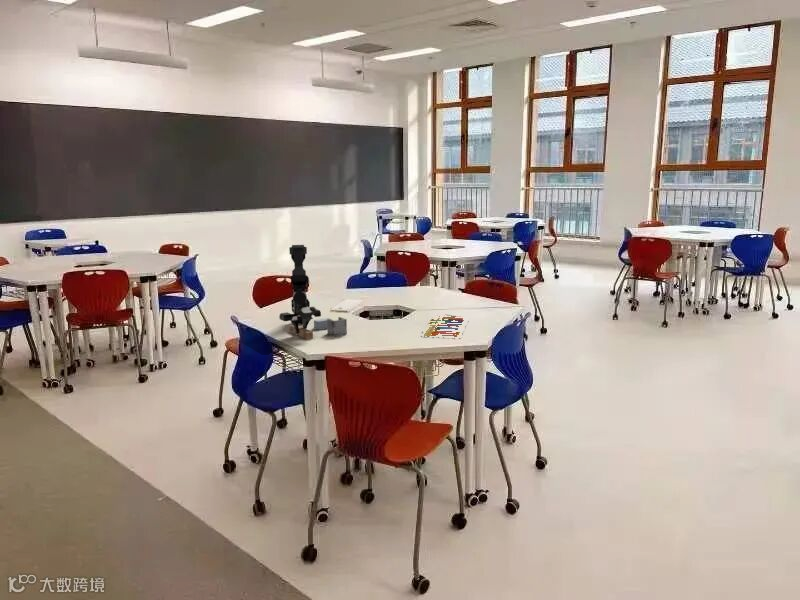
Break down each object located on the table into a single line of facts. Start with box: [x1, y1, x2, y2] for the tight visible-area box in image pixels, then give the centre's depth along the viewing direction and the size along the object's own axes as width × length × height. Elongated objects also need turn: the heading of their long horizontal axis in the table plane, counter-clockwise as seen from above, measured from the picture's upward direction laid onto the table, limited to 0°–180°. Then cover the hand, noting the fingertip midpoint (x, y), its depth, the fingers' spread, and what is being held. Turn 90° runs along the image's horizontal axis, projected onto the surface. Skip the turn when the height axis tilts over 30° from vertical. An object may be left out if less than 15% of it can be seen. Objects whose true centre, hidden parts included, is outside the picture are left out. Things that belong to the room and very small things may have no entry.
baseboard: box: [330, 298, 364, 313], centre depth 343 cm, size 31×3×12 cm
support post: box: [313, 317, 333, 330], centre depth 292 cm, size 4×8×4 cm, turn 125°
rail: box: [289, 324, 314, 340], centre depth 279 cm, size 18×3×4 cm, turn 36°
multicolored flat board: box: [424, 313, 464, 338], centre depth 295 cm, size 45×2×19 cm
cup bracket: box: [326, 316, 348, 337], centre depth 281 cm, size 6×7×7 cm
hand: (301, 332), depth 279 cm, fingers closed on rail, 3 cm apart
